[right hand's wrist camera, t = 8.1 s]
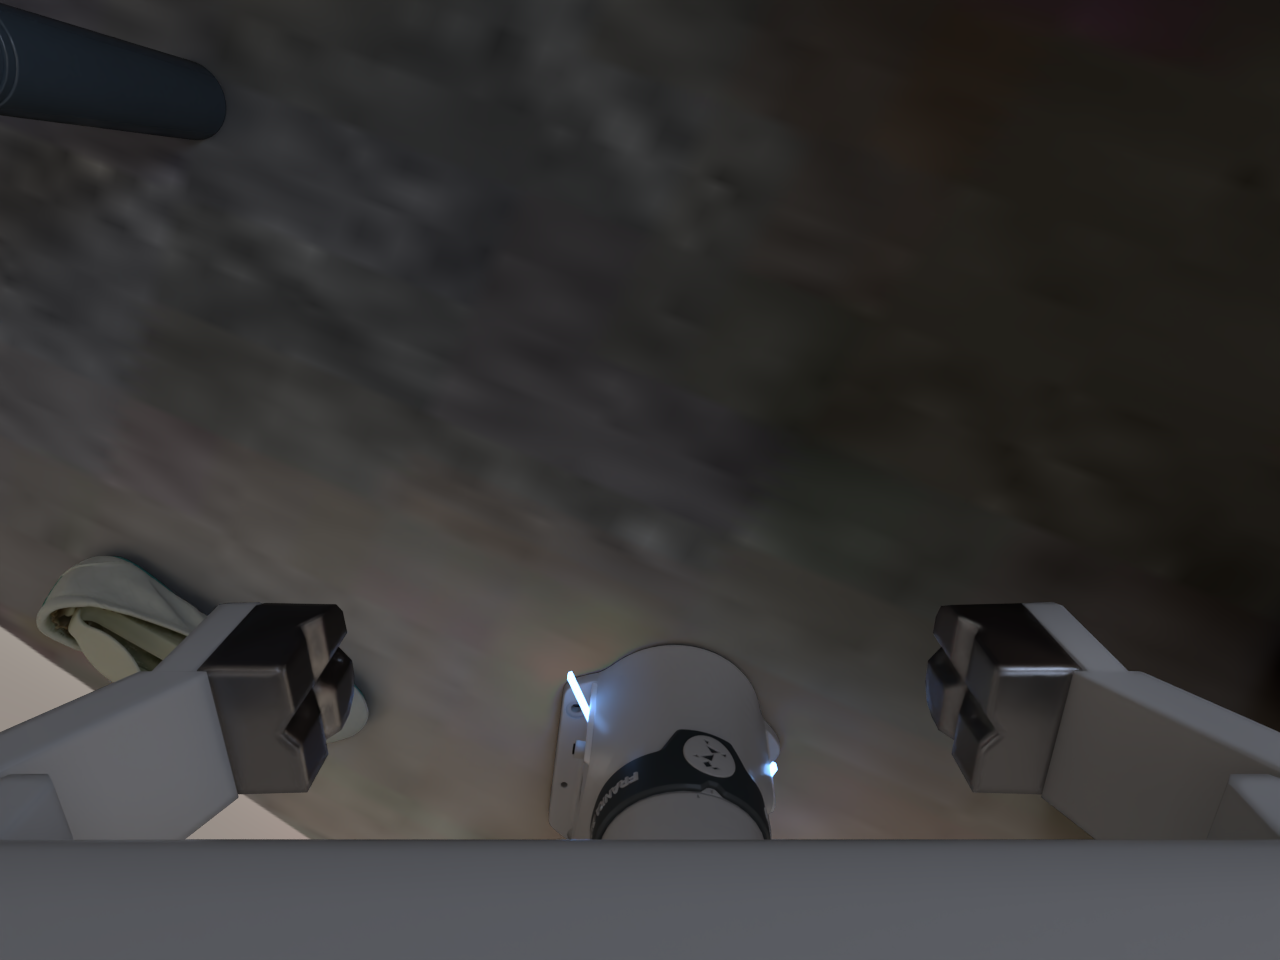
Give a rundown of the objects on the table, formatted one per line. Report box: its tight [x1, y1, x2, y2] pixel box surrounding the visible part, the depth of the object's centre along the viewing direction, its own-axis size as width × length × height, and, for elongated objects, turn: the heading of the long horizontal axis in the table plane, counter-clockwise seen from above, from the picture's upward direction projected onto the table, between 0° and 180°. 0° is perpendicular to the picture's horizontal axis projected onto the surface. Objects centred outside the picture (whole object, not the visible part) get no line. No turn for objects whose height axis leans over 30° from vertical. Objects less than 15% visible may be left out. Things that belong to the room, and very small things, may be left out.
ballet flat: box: [36, 556, 369, 744], centre depth 56 cm, size 8×24×8 cm, turn 53°
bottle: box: [0, 3, 226, 140], centre depth 36 cm, size 4×4×21 cm
